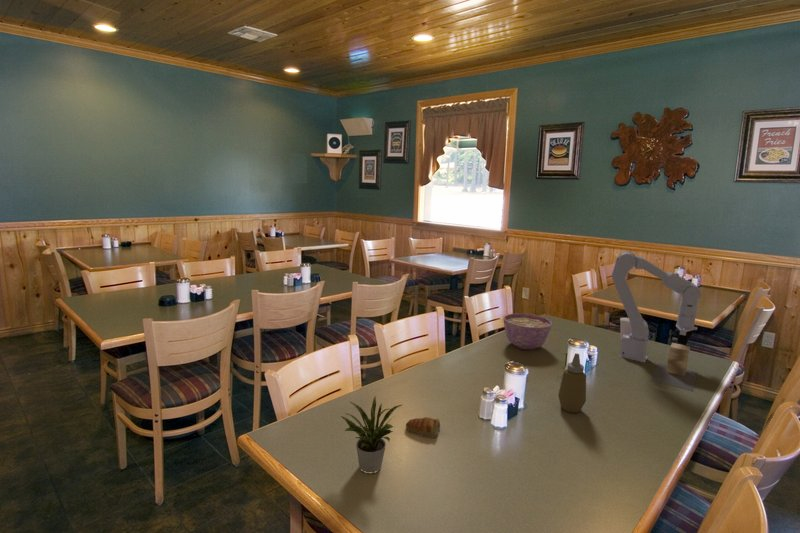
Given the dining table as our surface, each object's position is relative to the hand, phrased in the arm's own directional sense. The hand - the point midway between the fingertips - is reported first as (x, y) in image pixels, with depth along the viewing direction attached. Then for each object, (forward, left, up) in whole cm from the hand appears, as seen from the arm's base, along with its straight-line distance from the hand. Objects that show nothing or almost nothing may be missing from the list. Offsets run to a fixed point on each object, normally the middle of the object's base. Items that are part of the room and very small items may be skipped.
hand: (681, 348), depth 178 cm
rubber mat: (0, -14, -7) cm, 16 cm away
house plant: (-52, -126, -8) cm, 136 cm away
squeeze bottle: (-23, -65, -8) cm, 69 cm away
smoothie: (-23, +19, -8) cm, 31 cm away
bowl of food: (-55, -21, -8) cm, 59 cm away
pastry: (-51, -105, -8) cm, 117 cm away
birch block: (0, -9, -7) cm, 11 cm away
